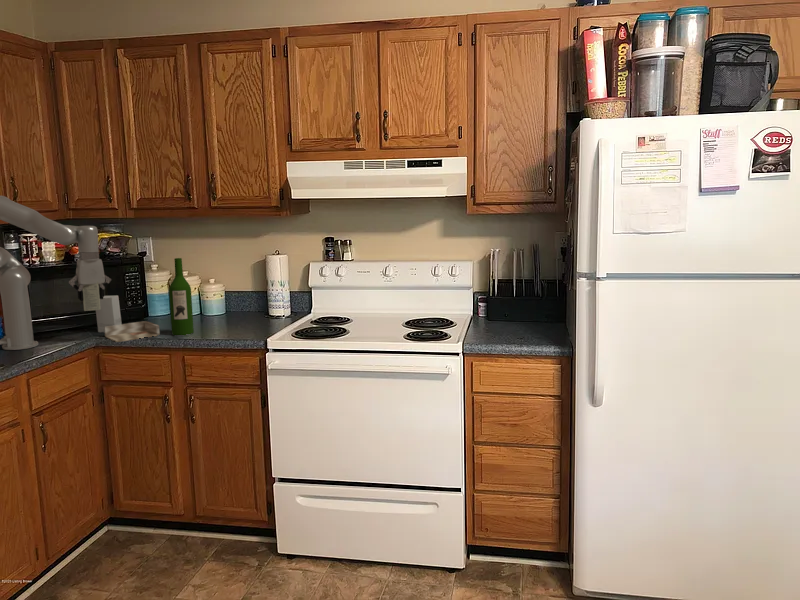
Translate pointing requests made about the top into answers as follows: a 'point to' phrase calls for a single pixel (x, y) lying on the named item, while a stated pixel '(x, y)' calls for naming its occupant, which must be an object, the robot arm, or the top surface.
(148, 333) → the tray
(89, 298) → the skincare box
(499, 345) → the top surface
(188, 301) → the wine bottle
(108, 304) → the skincare box
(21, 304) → the robot arm
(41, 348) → the top surface
